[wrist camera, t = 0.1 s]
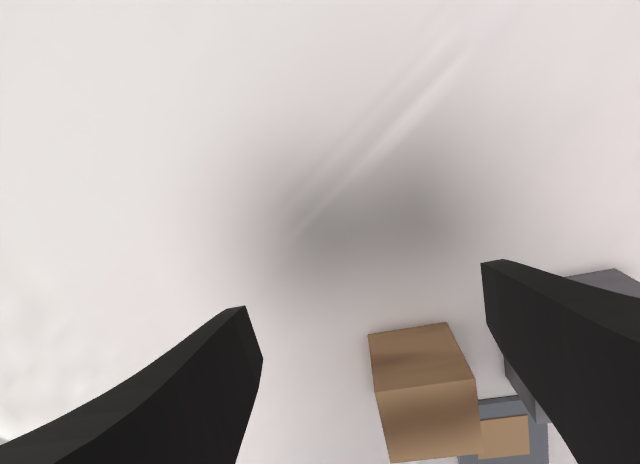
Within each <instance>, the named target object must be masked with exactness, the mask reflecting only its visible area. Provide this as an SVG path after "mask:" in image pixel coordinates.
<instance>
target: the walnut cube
mask: <svg viewBox="0 0 640 464" xmlns="http://www.w3.org/2000/svg"><path fill="white" fill-rule="evenodd" d="M368 341H369V349H370V357H371V366H372V374H373V383H374V391H375V396H376V401H377V405H378V409H379V414H380V418H381V423H382V427H383V431H384V436H385V440H386V444H387V449H388V453H389V458H390V462H391V463H399V462H408V461H418V460H427V459H436V458H445V457H454V456H463V455H472V454H482V453H484V450H483V441H482V432H481V424H480V415H479V406H478V398H477V389H476V380H475V377H474V375H473V373H472V371H471V369H470V367H469V365H468V363H467V361H466V359H465V358H464V356H463V354H462V352H461V350H460V348H459V346H458V344H457V342H456V340H455V338H454V336H453V334H452V332H451V330H450V328H449V326H448V324H447V322H443V323H437V324H431V325H425V326H418V327H412V328H406V329H400V330H393V331H387V332H381V333H375V334H368Z"/></svg>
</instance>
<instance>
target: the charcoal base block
mask: <svg viewBox="0 0 640 464" xmlns="http://www.w3.org/2000/svg"><path fill="white" fill-rule="evenodd" d="M564 278H567V279H570V280H574V281H577V282H580V283H584V284H587V285H591V286H594V287H598V288H602V289H606V290H609V291H613V292H617V293H621V294H625V295H629V296H633V297H637V298H640V282H638V281H636V280H634V279H633V278H631V277H629V276H627V275H625V274H624V273H622V272H620V271H618V270H616V269H609V270H603V271H597V272H592V273H586V274H580V275H574V276H569V277H564ZM504 364H505V375H506V377H507V379H508V380H509V382H510V383H511V385H512V386H513V388H514V390H515V391H516V393H517V394H518V396H519V397H520V399H521V401H522V402H523V404H524V405H525V407H526V408H527V410H528V412H529V413H530V415H531V416H532V418H533V420H534V421H535V423H536V424H544V423H552V422H551V420H550V419H549V418H548V416H547V415H546V413H545V412H544V411H543V409H542V408H541V407H540V405H539V404H538V402H537V401H536V400H535V398H534V397H533V395H532V394H531V393H530V391H529V390H528V389H527V387H526V386H525V384H524V383H523V382H522V380H521V379H520V378H519V376H518V375H517V373H516V372H515V371H514V369H513V368H512V366H511V365H510V363H509V362H508V361H507V359H506V358H505V356H504Z"/></svg>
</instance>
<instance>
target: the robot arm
mask: <svg viewBox="0 0 640 464" xmlns="http://www.w3.org/2000/svg"><path fill="white" fill-rule="evenodd" d="M481 273H482V283H483V293H484V303H485V313H486V323H487V325H488V327H489V329H490V331H491V333H492V335H493V337H494V339H495V341H496V343H497V345H498V346H499V348H500V350H501V352H502V353H503V355H504V356H505V358H506V359H507V361H508V362H509V363H510V365H511V366H512V368H513V369H514V371H515V372H516V373H517V375H518V376H519V378H520V379H521V380H522V382H523V383H524V384H525V386H526V387H527V389H528V390H529V391H530V393H531V394H532V395H533V397H534V398H535V400H536V401H537V402H538V404H539V405H540V407H541V408H542V409H543V411H544V412H545V413H546V415H547V416H548V418H549V419H550V420H551V422H552V423H553V424H554V426H555V427H556V429H557V430H558V432H559V433H560V435H561V436H562V438H563V440H564V441H565V443H566V444H567V446H568V448H569V449H570V451H571V453H572V454H573V456H574V458H575V459H576V461H577V463H578V464H640V298H637V297H633V296H629V295H625V294H621V293H617V292H613V291H609V290H606V289H602V288H598V287H594V286H591V285H587V284H584V283H580V282H577V281H574V280H570V279H567V278H564V277H561V276H558V275H554V274H551V273H548V272H545V271H542V270H539V269H536V268H533V267H530V266H527V265H523V264H520V263H517V262H513V261H510V260H505V259H500V260H495V261H489V262H484V263H481ZM262 364H263V357H262V354H261V351H260V348H259V345H258V342H257V339H256V336H255V333H254V330H253V327H252V324H251V321H250V318H249V315H248V312H247V309H246V306H240V307H234V308H228V309H226V310H224V311H222V312H221V313H219V314H218V315H216V316H215V317H213V318H212V319H211V320H209V321H208V322H207V323H205V324H204V325H203V326H201V327H200V328H199V329H197V330H196V331H195V332H193V333H192V334H191V335H189V336H188V337H187V338H185V339H184V340H183V341H181V342H180V343H179V344H178V345H176V346H175V347H173V348H172V349H171V350H169V351H168V352H166V353H165V354H164V355H162V356H161V357H159V358H158V359H157V360H155V361H154V362H152V363H151V364H150V365H148V366H147V367H145V368H144V369H142V370H141V371H139V372H138V373H136V374H135V375H133V376H132V377H130V378H129V379H127V380H125V381H124V382H122V383H120V384H119V385H117V386H116V387H114V388H112V389H111V390H109V391H107V392H106V393H104V394H102V395H100V396H99V397H97V398H95V399H93V400H91V401H89V402H87V403H86V404H84V405H82V406H80V407H78V408H76V409H74V410H73V411H71V412H69V413H67V414H65V415H63V416H61V417H60V418H58V419H56V420H54V421H52V422H50V423H47V424H45V425H43V426H41V427H39V428H37V429H35V430H33V431H31V432H29V433H27V434H24V435H22V436H20V437H18V438H16V439H13V440H11V441H9V442H7V443H5V444H2V445H0V464H235V462H236V459H237V456H238V453H239V450H240V446H241V443H242V440H243V437H244V434H245V431H246V427H247V424H248V421H249V418H250V415H251V412H252V408H253V405H254V402H255V399H256V395H257V392H258V388H259V383H260V377H261V371H262Z"/></svg>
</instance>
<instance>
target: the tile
mask: <svg viewBox="0 0 640 464" xmlns="http://www.w3.org/2000/svg"><path fill="white" fill-rule="evenodd" d="M478 406H479V415H480V424H481V432H482V441H483V450H484V453H482V454H472V455H463V456H458V460H459V464H549V458H548V433H547V423H544V424H536V423H535V421H534V420H533V418H532V416H531V415H530V413H529V412H528V410H527V408H526V407H525V405H524V404H523V402H522V401H521V399H520V397H519V396H518V395H517V396H509V397H502V398H494V399H486V400H478Z"/></svg>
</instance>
